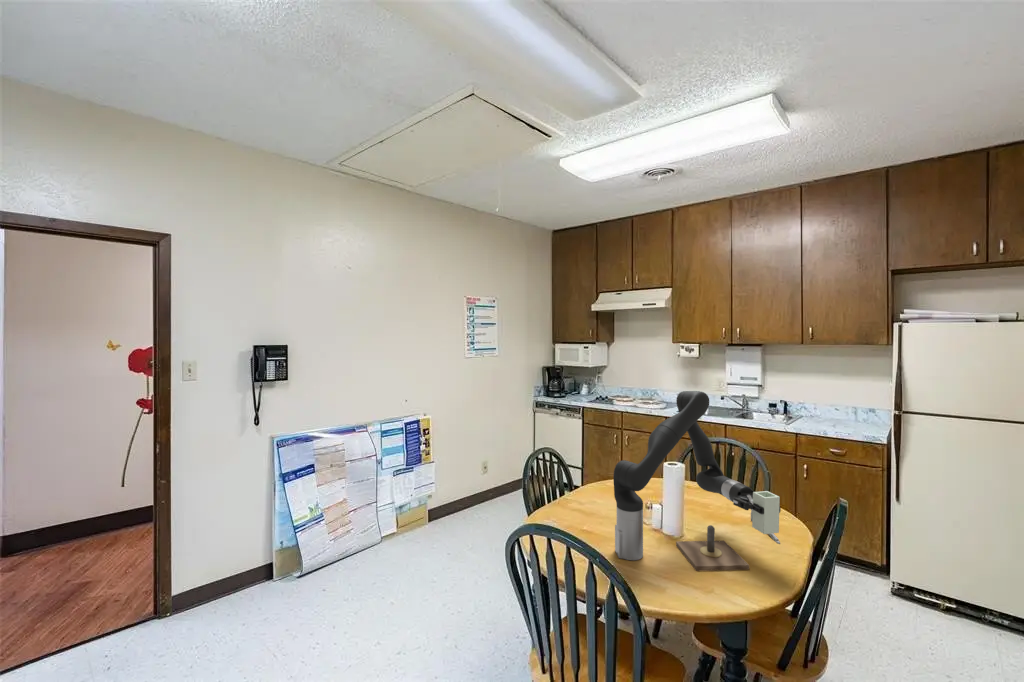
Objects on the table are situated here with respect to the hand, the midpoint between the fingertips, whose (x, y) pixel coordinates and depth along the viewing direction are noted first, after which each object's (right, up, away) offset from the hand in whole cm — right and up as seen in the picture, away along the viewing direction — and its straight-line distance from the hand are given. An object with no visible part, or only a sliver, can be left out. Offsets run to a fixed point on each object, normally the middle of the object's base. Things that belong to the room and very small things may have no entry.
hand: (771, 510), depth 156 cm
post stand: (-15, -20, +11) cm, 28 cm away
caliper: (+14, -20, +31) cm, 39 cm away
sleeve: (0, -7, +3) cm, 8 cm away
